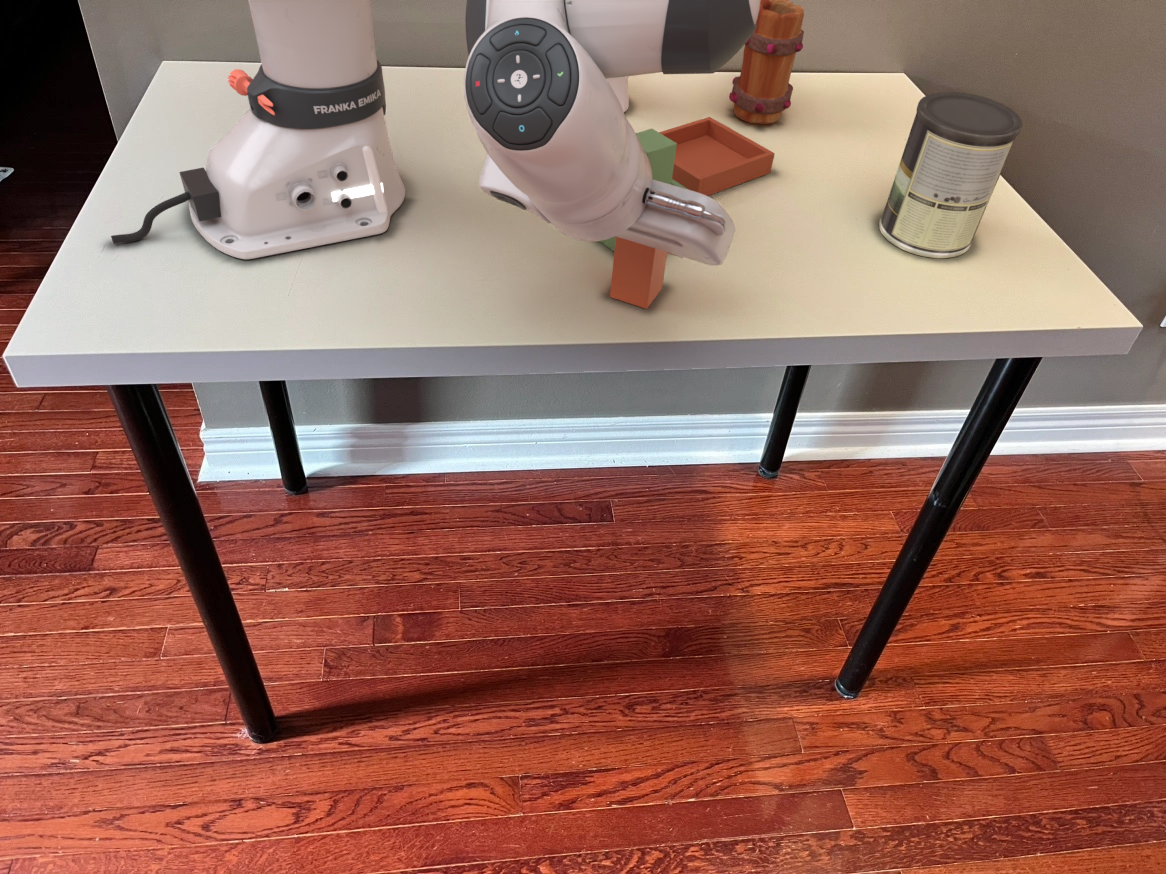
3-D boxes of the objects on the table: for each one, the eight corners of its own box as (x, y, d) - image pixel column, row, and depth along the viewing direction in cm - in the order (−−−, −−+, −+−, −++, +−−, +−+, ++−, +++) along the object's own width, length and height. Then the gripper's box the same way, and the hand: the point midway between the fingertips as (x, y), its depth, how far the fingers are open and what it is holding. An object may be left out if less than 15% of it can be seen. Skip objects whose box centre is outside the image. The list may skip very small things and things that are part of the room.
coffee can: (859, 218, 101) (897, 97, 91) (929, 204, 104) (974, 86, 94) (917, 266, 94) (966, 141, 84) (990, 249, 97) (1045, 127, 88)
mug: (785, 137, 115) (813, 16, 104) (723, 127, 115) (744, 6, 105) (789, 92, 125) (815, -22, 114) (731, 84, 126) (752, -30, 115)
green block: (638, 231, 95) (647, 152, 88) (615, 214, 97) (622, 136, 90) (666, 220, 96) (677, 143, 90) (642, 204, 99) (651, 127, 92)
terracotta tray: (696, 200, 101) (699, 179, 100) (632, 159, 107) (635, 139, 106) (770, 173, 107) (775, 153, 105) (706, 136, 113) (709, 116, 112)
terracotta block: (646, 309, 86) (659, 218, 79) (609, 297, 87) (618, 206, 80) (662, 288, 88) (675, 198, 81) (625, 277, 89) (636, 187, 82)
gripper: (737, 173, 62) (753, 231, 76) (487, 104, 68) (542, 170, 81) (706, 257, 63) (727, 300, 76) (459, 181, 68) (519, 234, 82)
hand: (630, 232), depth 79 cm, fingers open, 8 cm apart
